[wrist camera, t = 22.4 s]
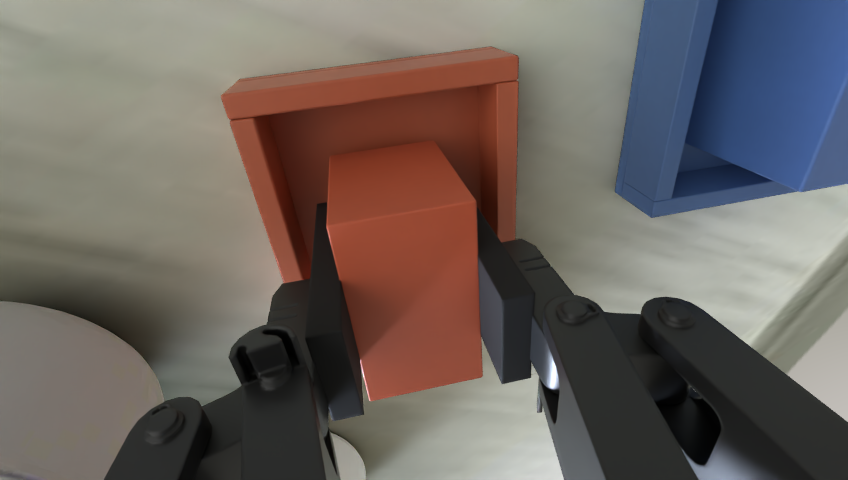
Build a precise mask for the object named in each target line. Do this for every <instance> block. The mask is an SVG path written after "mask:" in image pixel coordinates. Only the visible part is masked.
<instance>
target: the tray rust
mask: <svg viewBox="0 0 848 480" xmlns="http://www.w3.org/2000/svg"><path fill="white" fill-rule="evenodd" d="M518 69H519V57H518V56H517V55H514V54H511V53H508V52H505V51H502V50H499V49H496V48H494V47H484V48H477V49H469V50H461V51H454V52H446V53H438V54H430V55H423V56H415V57H407V58H399V59H392V60H384V61H376V62H369V63H361V64H353V65H345V66H338V67H330V68H322V69H314V70H307V71H299V72H291V73H284V74H276V75H268V76H260V77H253V78H245V79H239V80H238V81H237V82H236V83H235V84H234V85H233V86H231V87H230V88H229V89H228V90H227V91H226V92H225V93H223V94H222V95H221V99H222V102H223V105H224V108H225V111H226V114H227V117H228V118H229V119H230V120H231V121H230V125H231V128H232V131H233V134H234V137H235V140H236V143H237V146H238V149H239V152H240V155H241V158H242V161H243V164H244V167H245V170H246V173H247V176H248V179H249V182H250V184H251V187H252V190H253V193H254V196H255V199H256V202H257V205H258V208H259V211H260V214H261V217H262V220H263V223H264V226H265V229H266V232H267V235H268V238H269V241H270V244H271V246H272V249H273V252H274V255H275V258H276V261H277V264H278V267H279V270H280V273H281V276H282V279H283V282H284V283H288V282H294V281H299V280H305V279H310V275H311V264H312V253H313V242H314V231H315V219H316V208H317V204H319V203H325V202H328V181H329V159H330V156H332V155H339V154H346V153H352V152H359V151H365V150H372V149H379V148H385V147H392V146H398V145H405V144H411V143H418V142H425V141H431V140H434V141H435V143H436V144H437V146H438V147H439V148H440V150H441V151H442V153H443V154H444V156H445V157H446V158H447V160H448V161H449V163H450V164H451V166H452V167H453V168H454V170H455V171H456V173H457V174H458V176H459V177H460V179H461V180H462V181H463V183H464V184H465V186H466V187H467V189H468V190H469V191H470V193H471V194H472V196H473V197H474V199H475V200H476V203H477V207H478V209H479V210H480V212H481V213H482V215H483V216H484V217H485V219H486V220H487V222H488V223H489V225H490V226H491V228H492V229H493V231H494V232H495V234H496V235H497V237H498V238H499V240H500V241H501V242H507V241H512V240H515V223H516V178H517V132H518V86H519V82H518V81H517V79H518Z"/></svg>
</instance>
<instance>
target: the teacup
mask: <svg viewBox="0 0 848 480" xmlns="http://www.w3.org/2000/svg"><path fill="white" fill-rule="evenodd" d="M163 402H164V397H163V393H162V389H161V387H160V384H159V382H158V379H157V377H156V375H155V374H154V372H153V370H152V369H151V367H150V366H149V365H148V363H147V362H146V361H145V360H144V358H143V357H142V356H141V355H140V354H139V353H138V352H137V351H136V350H135V349H134V348H133V347H132V346H130V345H129V344H127V343H126V342H125V341H123V340H122V339H120V338H119V337H117V336H116V335H115V334H113V333H111V332H110V331H108V330H106V329H104V328H102V327H100V326H98V325H96V324H94V323H92V322H90V321H87V320H85V319H82V318H79V317H77V316H74V315H71V314H68V313H65V312H63V311H58V310H54V309H50V308H45V307H41V306H36V305H32V304H24V303H16V302H6V301H0V480H104V478H105V476H106V474H107V473H108V471H109V469H110V467H111V465H112V463H113V461H114V460H115V458H116V456H117V454H118V452H119V450H120V449H121V447H122V445H123V443H124V441H125V439H126V437H127V436H128V434H129V432H130V431H131V429H132V428H133V426H134V425H135V424H136V422H137V421H138V420H139V419H140V418H141V417H142V416H143V415H145V414H146V413H147V412H148V411H149V410H150V409H152V408H154V407H156V406H157V405H159V404H161V403H163Z"/></svg>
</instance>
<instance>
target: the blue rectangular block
mask: <svg viewBox="0 0 848 480" xmlns="http://www.w3.org/2000/svg"><path fill="white" fill-rule="evenodd" d="M685 143H686V144H688V145H690V146H693V147H695V148H697V149H700V150H702V151H704V152H707V153H709V154H712V155H714V156H716V157H719V158H721V159H723V160H726V161H728V162H730V163H733V164H735V165H737V166H740V167H742V168H744V169H747V170H749V171H752V172H754V173H756V174H759V175H761V176H763V177H766V178H768V179H770V180H773V181H775V182H777V183H780V184H782V185H785V186H787V187H789V188H792V189H794V190H796V191H799V192H804V191H810V190H815V189H821V188H827V187H832V186H838V185H843V184H848V0H718V4H717V8H716V12H715V17H714V21H713V25H712V29H711V33H710V38H709V42H708V46H707V50H706V55H705V59H704V63H703V67H702V71H701V76H700V80H699V84H698V88H697V93H696V97H695V101H694V105H693V109H692V114H691V118H690V122H689V126H688V131H687V135H686V139H685Z"/></svg>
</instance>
